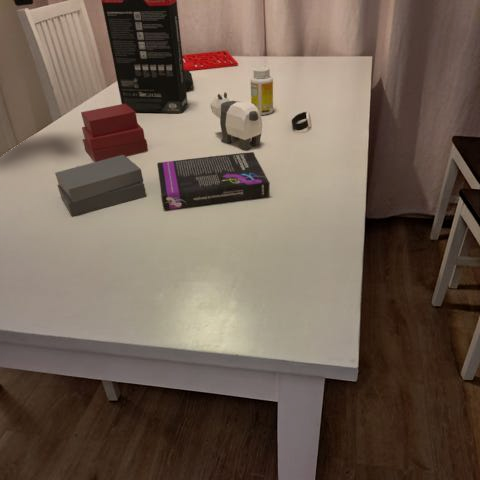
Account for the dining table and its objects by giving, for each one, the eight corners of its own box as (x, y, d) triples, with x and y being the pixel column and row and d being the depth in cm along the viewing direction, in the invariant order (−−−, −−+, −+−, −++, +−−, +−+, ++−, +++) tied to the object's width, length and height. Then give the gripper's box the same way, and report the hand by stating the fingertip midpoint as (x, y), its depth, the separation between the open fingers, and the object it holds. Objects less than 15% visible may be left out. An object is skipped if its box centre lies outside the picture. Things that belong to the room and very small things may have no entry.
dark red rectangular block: (93, 137, 98) (89, 121, 96) (85, 128, 103) (80, 112, 100) (138, 127, 101) (135, 111, 99) (128, 119, 106) (125, 103, 104)
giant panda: (265, 145, 103) (265, 99, 97) (247, 152, 101) (245, 106, 94) (223, 129, 112) (220, 87, 106) (205, 136, 109) (201, 92, 103)
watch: (309, 133, 108) (310, 116, 105) (289, 132, 108) (289, 116, 106) (312, 121, 113) (313, 106, 111) (293, 121, 114) (293, 105, 112)
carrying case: (158, 81, 147) (158, 94, 136) (156, 70, 145) (156, 83, 134) (191, 78, 148) (194, 91, 137) (190, 67, 146) (193, 80, 135)
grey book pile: (72, 216, 82) (63, 190, 79) (60, 196, 89) (52, 171, 86) (147, 196, 87) (142, 170, 84) (131, 178, 94) (126, 153, 90)
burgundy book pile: (96, 163, 100) (90, 140, 97) (85, 149, 106) (79, 127, 103) (149, 151, 104) (145, 128, 101) (135, 138, 110) (131, 116, 107)
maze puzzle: (237, 65, 158) (237, 62, 157) (179, 71, 155) (179, 69, 155) (226, 52, 173) (226, 50, 172) (173, 58, 170) (172, 56, 169)
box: (163, 213, 83) (270, 197, 85) (160, 195, 81) (270, 179, 82) (160, 179, 93) (255, 166, 95) (156, 162, 91) (254, 149, 92)
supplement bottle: (275, 109, 122) (275, 66, 115) (269, 116, 118) (269, 71, 111) (255, 108, 123) (254, 65, 116) (248, 115, 119) (247, 71, 112)
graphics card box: (190, 106, 127) (176, -17, 109) (183, 114, 122) (167, -13, 104) (131, 105, 130) (108, -14, 112) (122, 113, 125) (96, -10, 107)
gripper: (-44, -118, 82) (-6, 0, 93) (-37, -126, 70) (6, 9, 81) (0, -119, 84) (32, -5, 96) (14, -127, 73) (49, 4, 84)
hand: (20, 2), depth 88 cm, fingers open, 9 cm apart
